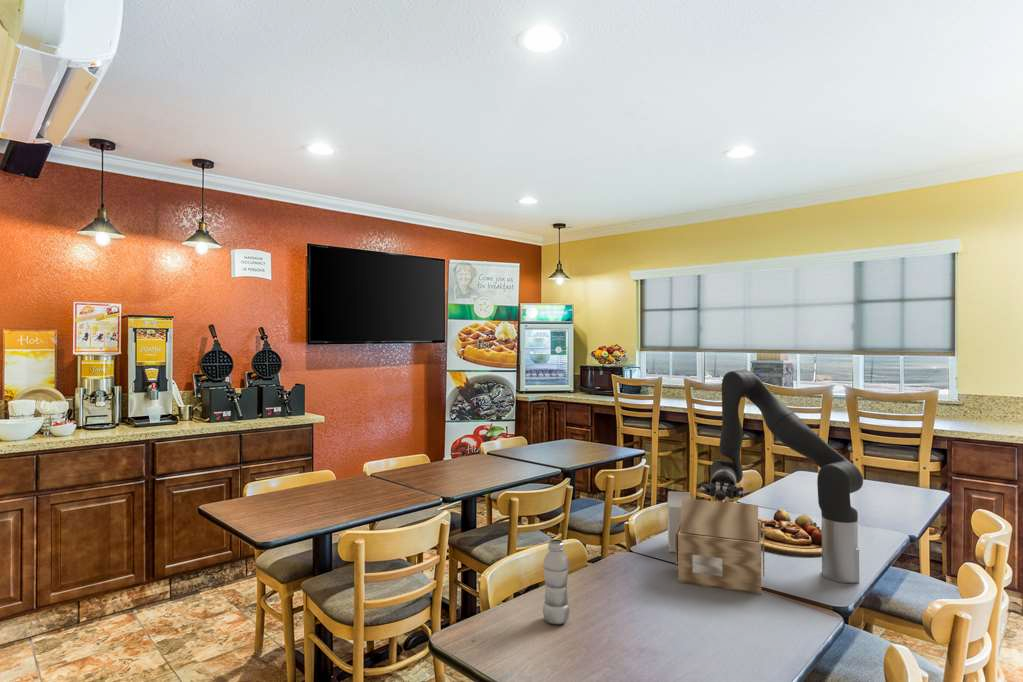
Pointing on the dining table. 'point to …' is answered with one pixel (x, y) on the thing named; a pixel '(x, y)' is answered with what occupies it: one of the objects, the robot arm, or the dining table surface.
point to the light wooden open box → (719, 561)
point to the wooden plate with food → (791, 535)
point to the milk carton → (674, 515)
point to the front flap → (719, 519)
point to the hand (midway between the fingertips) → (720, 497)
